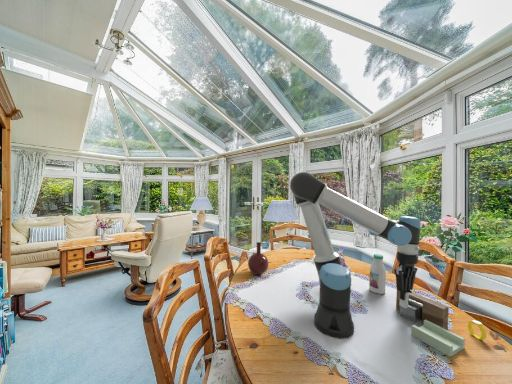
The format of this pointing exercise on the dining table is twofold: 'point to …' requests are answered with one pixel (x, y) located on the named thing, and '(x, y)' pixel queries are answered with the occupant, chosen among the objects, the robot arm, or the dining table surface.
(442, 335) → the cradle
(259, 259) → the round-bottom flask
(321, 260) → the robot arm
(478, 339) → the yellow ring
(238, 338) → the dining table surface
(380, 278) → the milk bottle
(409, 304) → the grey rectangular bar
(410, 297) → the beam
